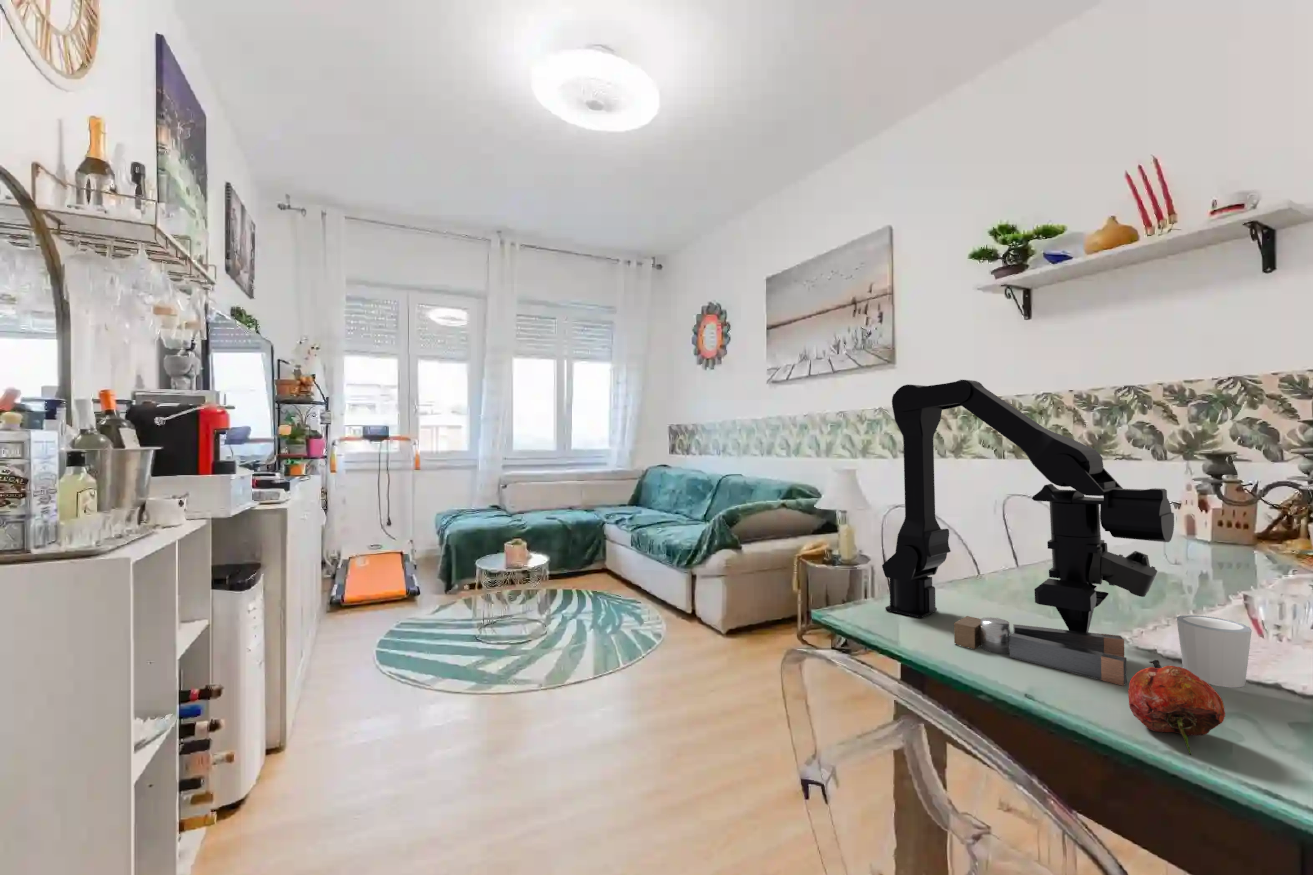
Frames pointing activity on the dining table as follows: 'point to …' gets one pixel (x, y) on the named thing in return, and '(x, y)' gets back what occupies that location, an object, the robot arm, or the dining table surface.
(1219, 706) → the wrinkled red fruit
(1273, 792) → the dining table surface
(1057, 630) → the bar
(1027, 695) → the dining table surface
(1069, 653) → the frame
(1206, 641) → the white cup
